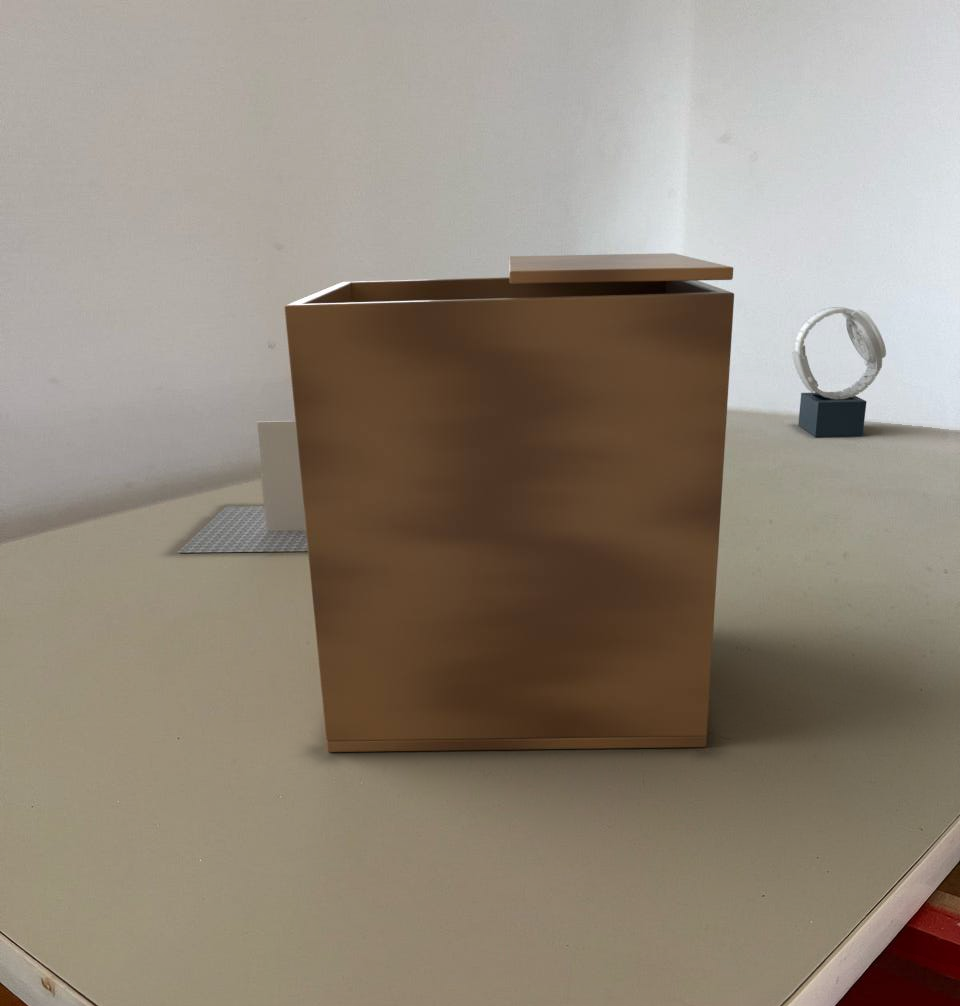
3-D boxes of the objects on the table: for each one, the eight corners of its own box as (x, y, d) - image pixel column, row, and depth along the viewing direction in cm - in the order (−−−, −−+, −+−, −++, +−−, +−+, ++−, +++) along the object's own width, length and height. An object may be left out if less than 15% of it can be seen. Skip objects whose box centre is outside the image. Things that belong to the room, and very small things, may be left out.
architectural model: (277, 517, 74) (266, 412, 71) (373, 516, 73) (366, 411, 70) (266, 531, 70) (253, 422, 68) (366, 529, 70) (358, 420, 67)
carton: (660, 625, 52) (675, 272, 46) (706, 747, 40) (734, 292, 34) (368, 630, 53) (341, 281, 46) (327, 752, 41) (284, 305, 34)
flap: (674, 262, 46) (674, 253, 46) (733, 280, 34) (733, 267, 34) (509, 265, 46) (509, 256, 46) (509, 283, 34) (509, 271, 34)
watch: (884, 435, 94) (899, 309, 90) (795, 437, 94) (807, 311, 90) (863, 423, 99) (877, 304, 95) (779, 426, 99) (789, 306, 95)
